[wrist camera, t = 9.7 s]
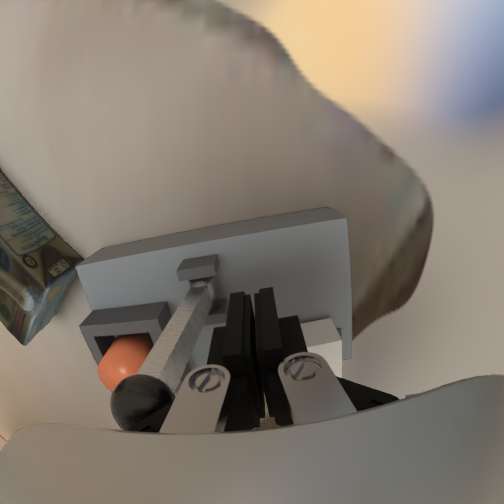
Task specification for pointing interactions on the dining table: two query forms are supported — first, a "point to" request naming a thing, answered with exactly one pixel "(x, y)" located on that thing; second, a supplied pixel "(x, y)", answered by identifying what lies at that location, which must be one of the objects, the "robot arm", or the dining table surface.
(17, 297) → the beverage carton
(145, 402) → the lever
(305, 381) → the robot arm
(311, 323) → the slider
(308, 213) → the panel
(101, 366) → the button
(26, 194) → the dining table surface
